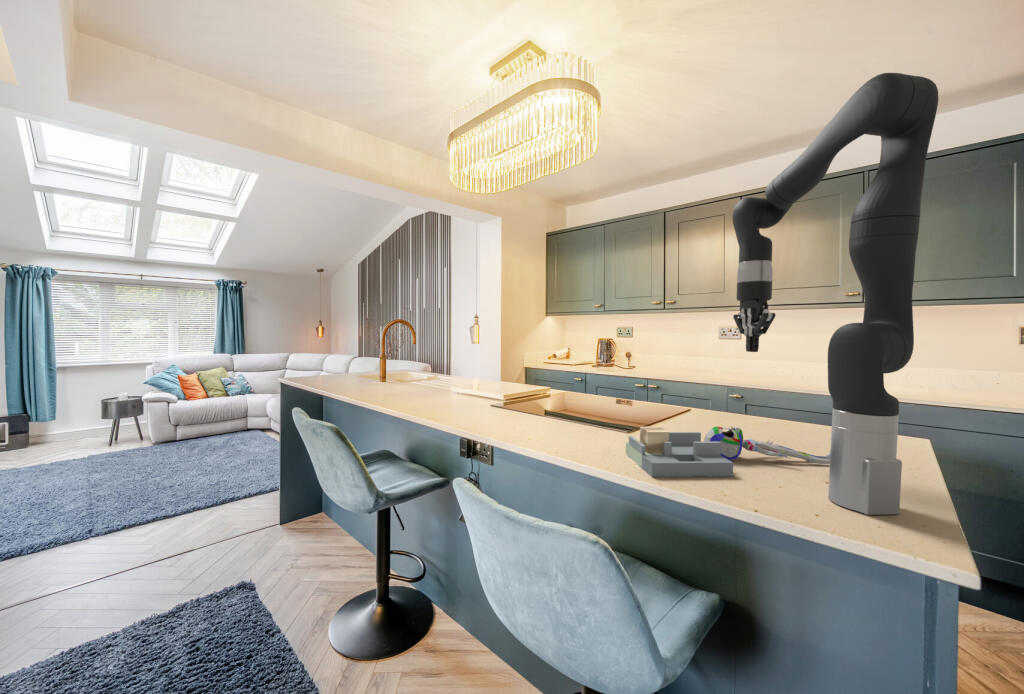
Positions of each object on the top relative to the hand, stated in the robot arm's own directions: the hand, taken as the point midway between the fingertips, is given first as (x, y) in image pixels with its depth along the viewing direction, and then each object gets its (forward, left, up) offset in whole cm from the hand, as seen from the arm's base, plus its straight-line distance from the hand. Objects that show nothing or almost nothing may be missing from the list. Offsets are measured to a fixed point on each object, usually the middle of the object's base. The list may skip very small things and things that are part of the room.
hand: (751, 351), depth 103 cm
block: (-3, +25, -24) cm, 35 cm away
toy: (-2, -4, -27) cm, 27 cm away
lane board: (-4, +21, -27) cm, 34 cm away
